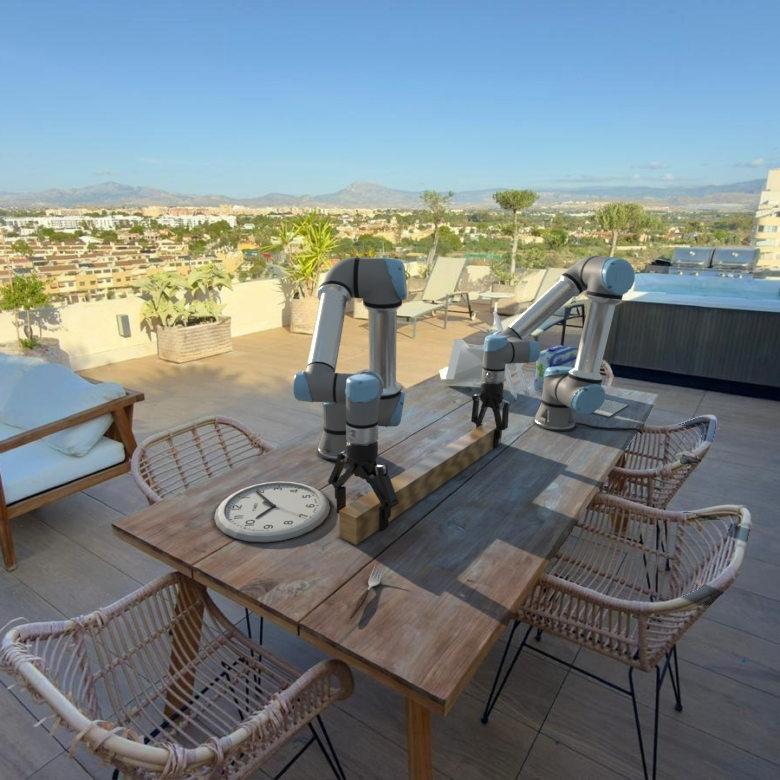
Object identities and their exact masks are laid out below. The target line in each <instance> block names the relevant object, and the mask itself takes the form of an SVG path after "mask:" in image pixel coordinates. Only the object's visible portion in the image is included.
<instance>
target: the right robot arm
mask: <svg viewBox="0 0 780 780" xmlns="http://www.w3.org/2000/svg"><path fill="white" fill-rule="evenodd" d="M635 273H636V272H635V270H634V267H633V266H632V263H630V262H629V261H627V260H626V259H624V258H621V257H617V256H600V255H591V256H587V257H585V258H583V259H580V260H579V261H577V262H576V263H574V264H573V265H571V266H570V267H569V268H567V270H565V271H564V272H563V273H562V274H561V275H560V276H559V277H558V281H557V282H556V283H555V284H554V285H553V286H552V287H551V288H550V289H548V290H547V291H546V292H545V293H544V294H542V296H540V297H539V299H537V300H536V301H535V302H534V303H533V304H532V305H530V306H529V307H528V308H527V309H525V311H524V312H523V313H521V314H520V315H519V316H518V317H517V318H516V319H515V320H514V321H513V322H512V323H510V324H509V325H508V326H507V327H506V328H505V329H503V331H498V330H497V331H495V332H493V333H492V334H490V335H486V337H485V338H484V342H483V344H484V348H483V367H482V381H480V392H479V394H478V393H475V394H474V395H472V396H471V400H472V409H471V417H470V419H471V420H470V421H471V423H473V424H475V428H477V427H479V426H480V425H482V424H484V423H483V421H484V418H485V416H486V412H487V410H488V408H490V409H491V411H492V413H493V417H494V422H495V423H496V429H495V430H494V440H493V449H496V448H497V447H499V445H498V443H499V439H500V438H501V436H503V431H505V430H507V429H508V427H509V411H510V407H511V404H512V403H511V401H510V400H508V401H507V400H505V398H504V396H503V395H504V386H505V383H504V381H505V365H506V364H507V365H509V364H515V363H520V364H530V363H536V361H537V360H538V359H539V357H540V352H542V351H541V345H540V343H539V342H538V341H536V340H530V339H527V338H529V336H530V335H532V334H533V333H534V332H535V331H536V330H537V329H538V328H539V327H541V326H542V325H543V324H545V322H546V321H548V320H549V319H550V318H551V317H552V316H553V315H554V314H555V313H556V312H558V311H559V310H560V309H561V308H562V307H563V306H564V305H566V304H567V303H568V302H569V301H570V300H571V299H573V298H574V297H579V296H580V295H581V294H583V293H584V292H586V294H585V296H586V298H587V300H588V305H587V310H586V315H585V319H584V322H583V327H582V331H581V336H580V340H579V345H578V353H577V358H576V362H575V366H574V368H573V367H562V366H557V367H549V368H547V369H546V370H545V374H544V382H543V392H541V393H542V394H541V402H540V405H539V407H538V410H537V411H536V413H535V417H534V424H535V425H536V426H537V427H539V428H542V429H544V430H549V431H556V432H567V431H572V430H574V429H575V428H576V425H577V426H581V427H587V428H590V429H591V428H592V429H597V430H609V431H635V432H638V433H639V434H641V435H643V434H644V432H643V431H642V430H641V429H639V428H636V427H609V426H600V425H599V426H598V425H592V424H587V423H583V422H577V421H576V418H575V417H576V416H575V413H574V412H577V413H579V414H582V415H590V414H594V413H593V412H595V411H596V410H597V409H599V408H600V407H601V406H602V404H603V403H604V400H605V399H606V397H607V394H606V391H605V388H604V387H603V386H602V382H603V379H604V378H603V376H602V374H601V372H600V371H601V368H602V363H603V358H604V355H605V350H606V346H607V342H608V339H609V338H608V337H609V334H610V331H611V326H612V321H613V318H614V314H615V309H616V306H617V305H618V304H619V303H621V302H622V300H623V297H624V295H625V294H627V293H628V292H629V291H630V290H631V289H632V288H633V286H634V283H635V279H636V274H635ZM526 339H527V340H526ZM480 401H481V406H480ZM500 405H501V406H500ZM501 407H502V410H501ZM479 409H480V410H479ZM501 411H502V412H501ZM501 439H502V438H501Z"/></svg>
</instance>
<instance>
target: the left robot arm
mask: <svg viewBox="0 0 780 780" xmlns="http://www.w3.org/2000/svg"><path fill="white" fill-rule="evenodd" d="M407 283H408V282H407V275H406V269H405V264H404V262H403V261H402V260H401V259H400V258H391V257H357V256H353V257H346V258H344V259H341V260H339V261H338V262H336V263H335V264H334V265H332V267H330V268H329V269H328V270H327V272H326V273H325V274H324V275H323V277H322V279H321V281H320V283H319V286H318V289H317V299H318V301H319V303H318V308H317V313H316V317H315V322H314V327H313V332H312V337H311V341H310V347H309V352H308V356H307V360H306V365H305V370H302V371H297V372H296V373H295V374H294V376H293V382H292V392H293V393H292V394H293V396H294V398H295V399H296V400H297V401H300V402H306V403H307V402H308V403H321V404H322V425H323V432H322V435H321V438H320V441H319V444H318V455H319V457H321V458H322V459H324V460H326V461H330V462H336V463H335V465H334V467H333V469H332V471H331V473H330V476H329V477H328V480H327V483H328V485H332V486H333V488H334V499H335V500H336V514H338V515H339V510H341V509H343V508H344V507H346V506H347V487H346V486H345V484H346V483H347V481H348V480H349V479H351V477H352V476H353V475H354V477H356V478H360V479H363V480H365V482H366V483H367V484H369V485H370V488H371V489H372V490H373V491H374V492H375V494H376V496H377V498H378V499H379V501H380V503H381V506H380V507H379V529H378V532H380V533H383V532H384V531H385V530H387V529H388V528H389V522H388V518H390V516H391V508H392V507H394V506H395V505H397V504H398V499H397V496H396V494H395V491H394V488H393V485H392V483H391V477H390V474H389V467H388V464H383V465H381V464H378V462H377V458H378V455H379V442H378V440H379V427H386V428H388V427H398V426H399V425H400V424H401V421H402V418H403V417H402V416H403V409H404V403H405V397H406V392H405V391H404V390H402V389H401V384H399V382H397V336H398V335H397V331H398V330H397V329H398V328H397V327H398V325H397V324H398V323H397V322H398V321H397V319H398V309H400V308H401V307H402V306H403V301H405V300H407V298H408V287H407V286H408V284H407ZM352 299H362V305H363V307H364V308H365V309H367V312H368V313H367V318H368V319H367V320H368V321H367V322H368V323H367V324H368V325H367V326H368V327H367V329H368V369H367V370H364V371H362V372H359V373H348V372H336V369H337V363H338V358H339V352H340V345H341V342H342V341H341V340H342V335H343V327H344V322H345V316H346V312H347V311H346V310H347V307H348V306H349V305H350V303H351V301H352ZM346 463H347V465H348V467H347V469H346V470H345V471H344V473H342V472H343V470H344V468H345V467H346ZM385 500H386V502H385Z"/></svg>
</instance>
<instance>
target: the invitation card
mask: <svg viewBox="0 0 780 780" xmlns="http://www.w3.org/2000/svg"><path fill="white" fill-rule="evenodd" d="M628 406H629V404H627V403H623V402H618V401H614V400H609V399H606V398H605V400H604V403H603V404H602V406H601V407H600V408H599V409H597V410H596V411H595V412H593V413H592V414H596V415H600V416H604V417H608V418H609V417H611V416H613V415H614V414H616V413H617V412H619V411H621V410H623V409H624V408H626V407H628Z"/></svg>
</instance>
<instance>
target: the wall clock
mask: <svg viewBox="0 0 780 780" xmlns="http://www.w3.org/2000/svg"><path fill="white" fill-rule="evenodd" d="M330 509H331V506H330V501H329V499H328V497H327V496H326V495H325V493H323V492H322V491H320V490H318V488H315V487H313V486H312V485H311V486H310V485H308V484H305V483H300V482H295V481H294V482H292V481H269V482H263V483H262V482H261V483H258V484H253V485H250V486H246V487H244V488H242V489H240V490H238V491H236V492H233V493H232V494H230V495H229V496H227V498H224V500H222V501H221V502H220V504H219V505H218V507H216V509H215V513H214V518H213V519H214V522H215V525H216V527H217V528H218V529H219V530H220V531H221V532H222V533H223V534H225V535H226V536H229V537H231V538H233V539H235V540H236V539H237V540H240V541H245V542H250V543H251V542H252V543H271V542H280V541H285V540H289V539H293V538H297V537H300V536H302V535H304V534H308V532H311V531H313V530H314V529H316V528H317V527H319V526H320V525H322V523H323V522H324V521H325V520H326V519H327V518H328V516H329V513H330Z"/></svg>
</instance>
